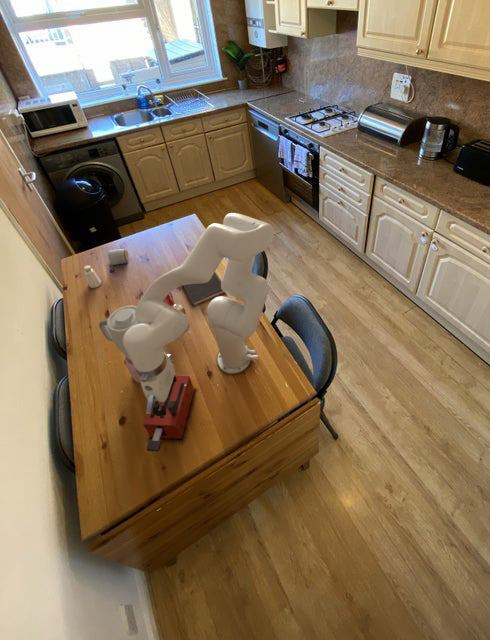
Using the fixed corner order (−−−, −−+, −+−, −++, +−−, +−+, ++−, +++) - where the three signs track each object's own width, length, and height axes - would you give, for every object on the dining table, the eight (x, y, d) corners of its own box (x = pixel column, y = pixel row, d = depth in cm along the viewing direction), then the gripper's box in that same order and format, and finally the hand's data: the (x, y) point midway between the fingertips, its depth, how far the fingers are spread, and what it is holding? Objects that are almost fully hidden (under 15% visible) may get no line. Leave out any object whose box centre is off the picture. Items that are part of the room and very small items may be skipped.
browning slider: (177, 408, 106) (174, 400, 103) (175, 414, 104) (172, 407, 101) (172, 407, 106) (169, 400, 103) (170, 414, 104) (167, 407, 101)
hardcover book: (193, 306, 151) (192, 303, 150) (177, 275, 167) (176, 272, 165) (226, 292, 157) (226, 288, 156) (208, 263, 173) (207, 260, 172)
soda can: (169, 301, 154) (163, 282, 146) (179, 308, 150) (173, 289, 143) (156, 311, 150) (149, 292, 142) (166, 319, 146) (159, 300, 138)
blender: (172, 356, 131) (149, 300, 112) (162, 387, 122) (135, 331, 102) (131, 356, 132) (102, 300, 112) (118, 386, 123) (84, 330, 103)
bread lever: (165, 429, 103) (164, 428, 102) (159, 451, 98) (158, 449, 97) (153, 429, 103) (152, 427, 102) (146, 451, 98) (145, 449, 98)
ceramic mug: (129, 264, 174) (124, 253, 169) (112, 268, 172) (106, 256, 167) (130, 252, 182) (125, 240, 177) (113, 255, 180) (108, 244, 175)
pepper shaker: (102, 285, 163) (94, 268, 156) (90, 289, 161) (81, 272, 154) (100, 278, 167) (91, 261, 160) (88, 283, 164) (79, 266, 157)
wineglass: (192, 326, 142) (186, 307, 135) (180, 335, 139) (173, 316, 132) (184, 319, 145) (178, 300, 138) (172, 327, 142) (165, 308, 135)
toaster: (195, 390, 121) (189, 374, 114) (182, 440, 108) (175, 426, 102) (166, 389, 121) (159, 373, 115) (150, 439, 108) (141, 424, 102)
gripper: (153, 395, 81) (169, 428, 92) (175, 335, 95) (187, 369, 106) (123, 394, 82) (142, 427, 92) (148, 334, 95) (163, 369, 106)
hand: (166, 396), depth 99 cm, fingers open, 9 cm apart
